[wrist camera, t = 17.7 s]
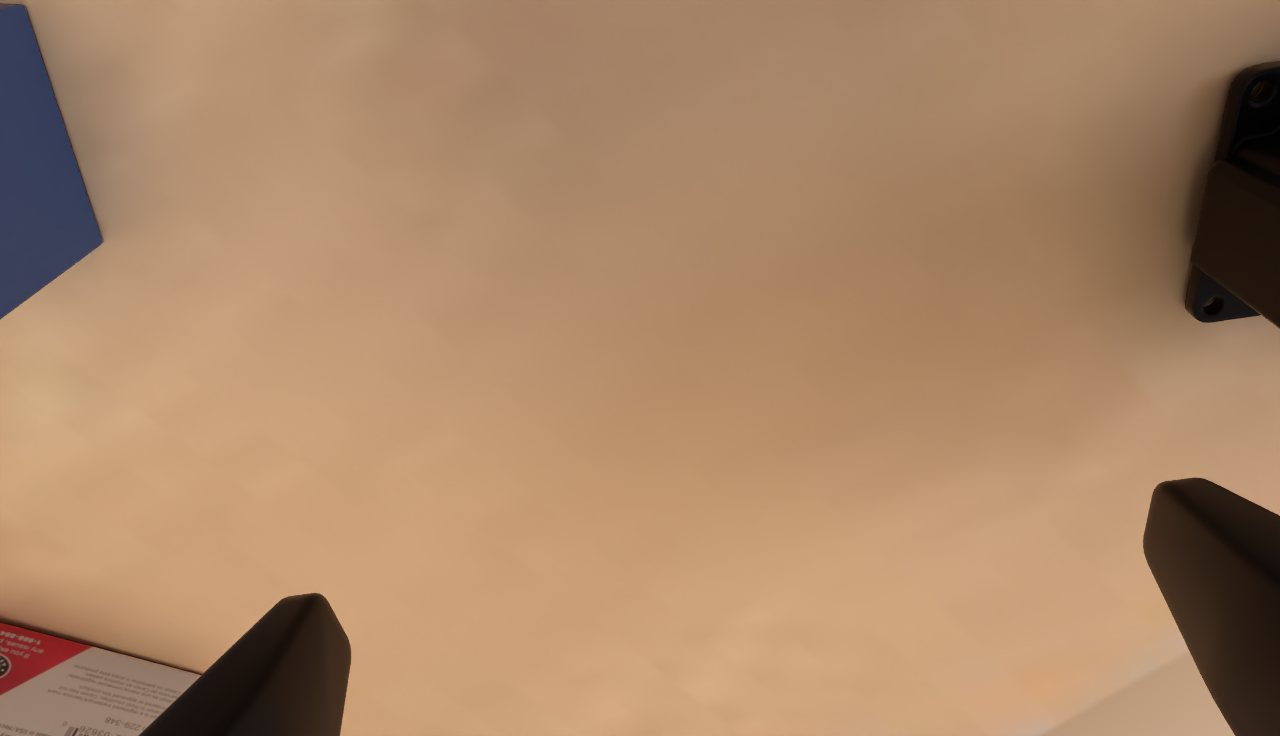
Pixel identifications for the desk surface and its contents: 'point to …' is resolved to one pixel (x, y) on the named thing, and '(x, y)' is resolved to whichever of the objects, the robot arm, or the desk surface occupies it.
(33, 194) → the box
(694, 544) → the desk surface
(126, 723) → the ink box
